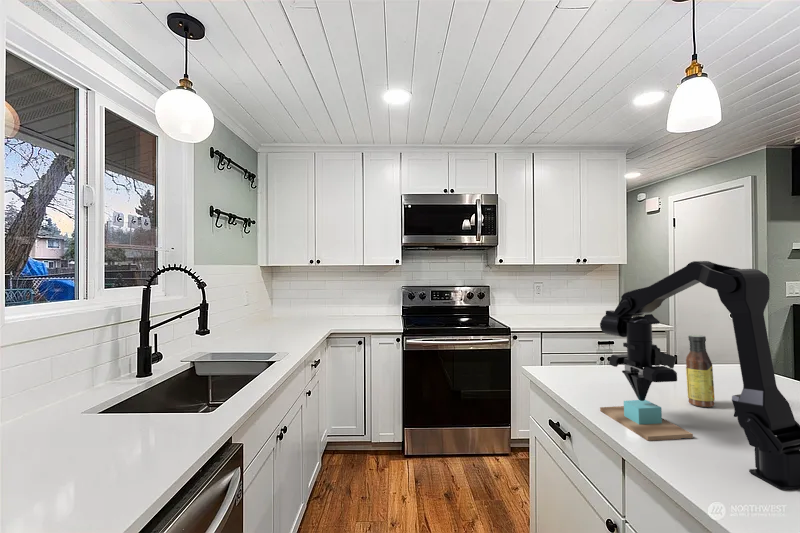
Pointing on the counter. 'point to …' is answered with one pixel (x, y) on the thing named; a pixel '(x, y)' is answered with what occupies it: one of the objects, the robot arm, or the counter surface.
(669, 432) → the post base
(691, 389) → the sauce bottle
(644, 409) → the teal block
